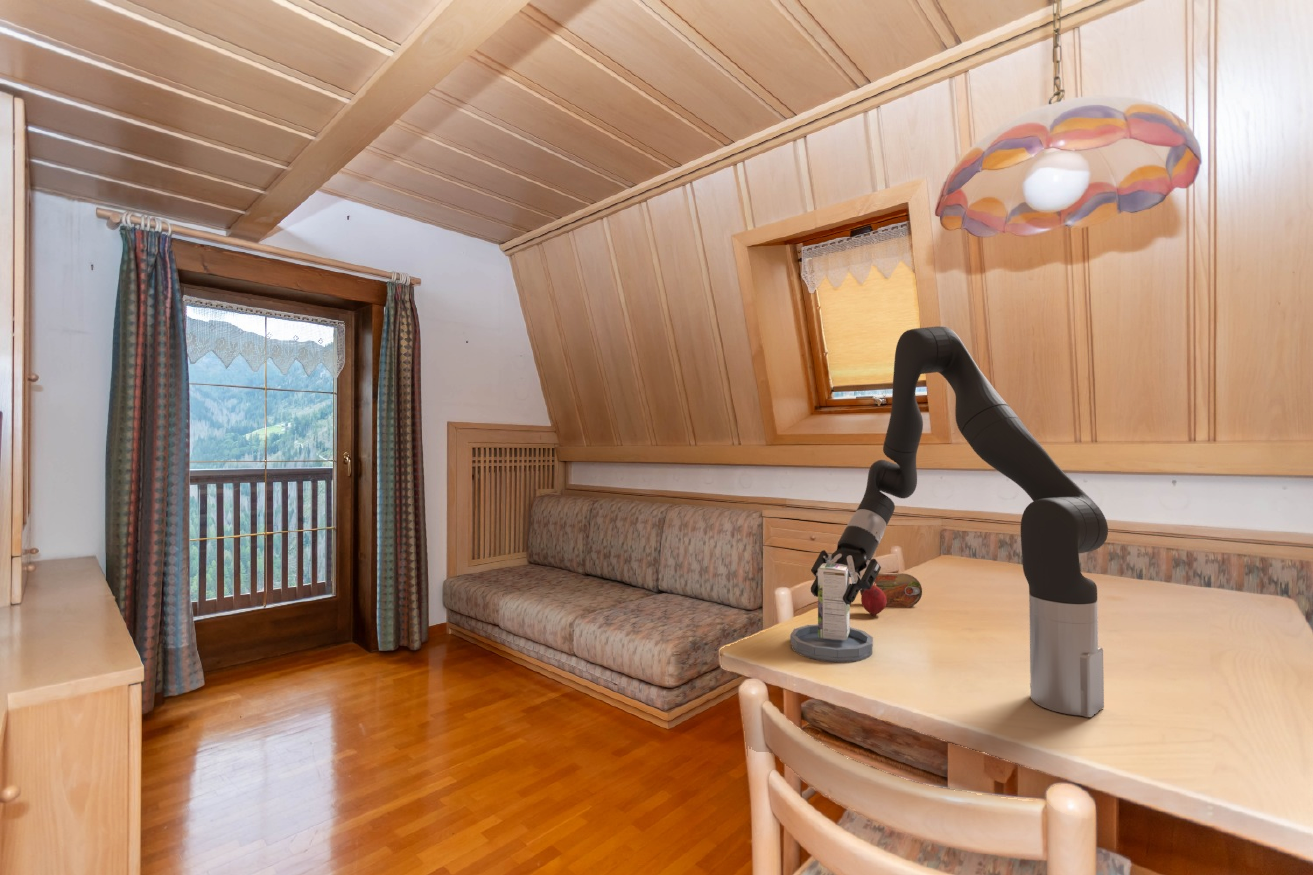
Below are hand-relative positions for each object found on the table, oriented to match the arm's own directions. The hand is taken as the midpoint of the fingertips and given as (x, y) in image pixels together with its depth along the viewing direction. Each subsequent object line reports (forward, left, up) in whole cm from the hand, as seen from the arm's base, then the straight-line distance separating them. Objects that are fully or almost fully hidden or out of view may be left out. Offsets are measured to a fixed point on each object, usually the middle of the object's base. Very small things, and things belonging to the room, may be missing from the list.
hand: (829, 598), depth 127 cm
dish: (0, 0, -10) cm, 10 cm away
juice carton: (0, -1, -8) cm, 8 cm away
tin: (+11, -38, -11) cm, 41 cm away
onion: (+8, -27, -11) cm, 30 cm away
